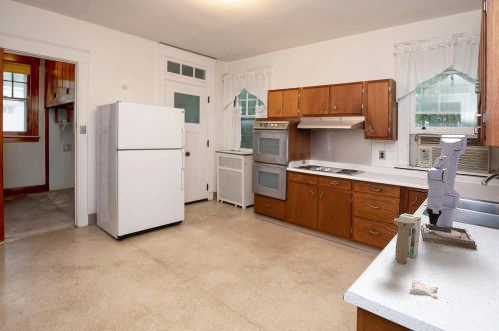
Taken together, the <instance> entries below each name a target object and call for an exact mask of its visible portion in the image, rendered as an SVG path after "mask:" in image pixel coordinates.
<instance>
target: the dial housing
mask: <svg viewBox="0 0 499 331" xmlns="http://www.w3.org/2000/svg"><path fill="white" fill-rule="evenodd" d="M429 224H430V223H427V222H426V223H425V222H423V223H422V225H421V224H420V231H421V232H420V233H421V237H422V241H424V242H427V243H429V242H430V243H436V244H442V245H448V246H454V247H461V248H467V249H473V250H477V248H478V246H477V243H476V240H475V239H474V237H473V236H472V234H471V233H470V232H469V229H467V228H461V227H455V226H454V227H451V230H455V231H457V232H459V233H461V237H460V238H453V237H450V236H448V237H446V236H439V235H436V234H434V233H433V230H429ZM438 226H441V225H438ZM447 227H448V226H447Z"/></svg>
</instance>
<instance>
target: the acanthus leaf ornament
mask: <svg viewBox="0 0 499 331" xmlns="http://www.w3.org/2000/svg"><path fill="white" fill-rule="evenodd" d="M438 289H439V287H438V286H435V285H431V286H428V284H426V283H425V282H421V281H420V280H418V279H415V278H414V279H412V287H411V288H410V289H409V294H418V295H427V296H429V297H431V298H433V299H435V300H438V299H439V297H438V295H436V294H435V293H437V292H438Z"/></svg>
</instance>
